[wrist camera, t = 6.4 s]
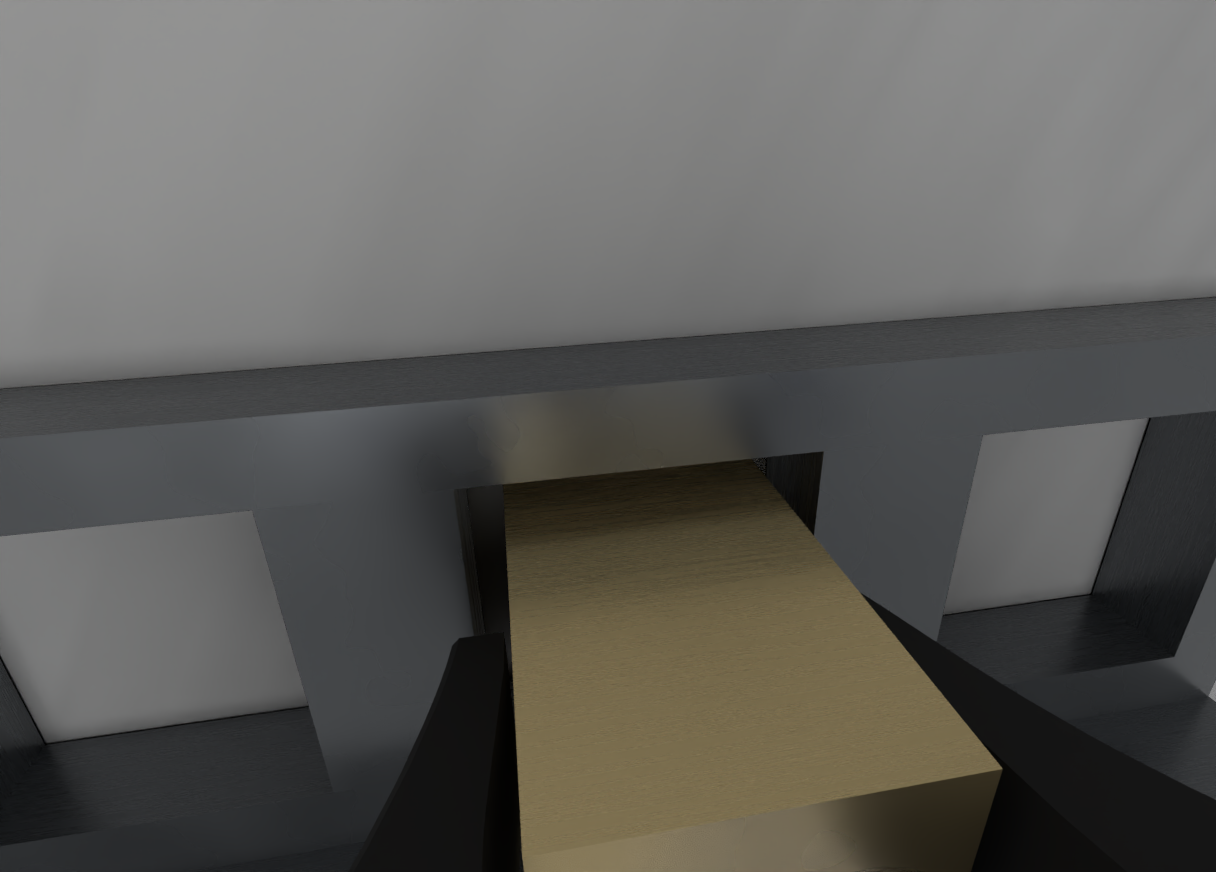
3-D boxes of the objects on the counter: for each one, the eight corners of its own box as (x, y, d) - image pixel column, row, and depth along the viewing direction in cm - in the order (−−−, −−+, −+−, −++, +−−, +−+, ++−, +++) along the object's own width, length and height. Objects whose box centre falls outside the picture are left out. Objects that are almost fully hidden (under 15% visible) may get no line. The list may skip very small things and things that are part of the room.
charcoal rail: (1118, 651, 16) (1301, 801, 12) (7, 827, 13) (-183, 1102, 9) (1251, 294, 12) (1562, 359, 9) (-246, 408, 9) (-720, 585, 6)
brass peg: (719, 609, 14) (923, 1024, 7) (522, 637, 13) (556, 1111, 7) (728, 430, 12) (1003, 768, 6) (501, 453, 11) (522, 857, 5)
